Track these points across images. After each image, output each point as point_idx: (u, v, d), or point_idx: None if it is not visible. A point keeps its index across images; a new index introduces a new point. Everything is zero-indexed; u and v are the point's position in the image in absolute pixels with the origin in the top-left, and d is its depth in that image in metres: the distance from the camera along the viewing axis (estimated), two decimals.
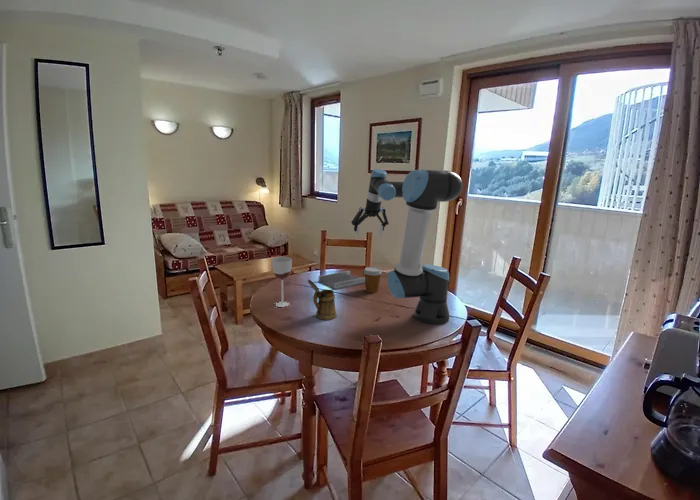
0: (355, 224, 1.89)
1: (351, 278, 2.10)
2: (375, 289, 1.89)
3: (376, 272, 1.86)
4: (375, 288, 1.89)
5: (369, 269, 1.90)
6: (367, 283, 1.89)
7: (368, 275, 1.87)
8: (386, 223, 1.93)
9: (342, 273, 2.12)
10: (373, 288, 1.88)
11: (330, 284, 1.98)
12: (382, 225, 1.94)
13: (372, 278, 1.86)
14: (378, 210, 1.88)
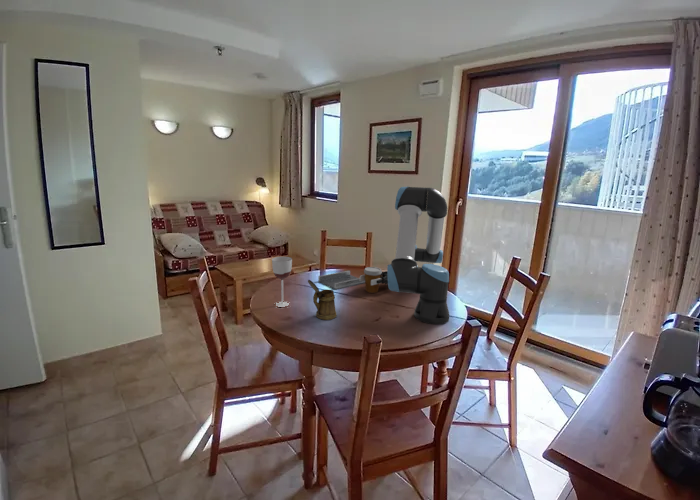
0: None
1: (351, 278, 2.10)
2: (375, 289, 1.89)
3: (376, 272, 1.86)
4: (375, 288, 1.89)
5: (369, 269, 1.90)
6: (367, 283, 1.89)
7: (368, 275, 1.87)
8: (386, 278, 1.88)
9: (342, 273, 2.12)
10: (373, 288, 1.88)
11: (330, 284, 1.98)
12: None
13: (372, 278, 1.86)
14: None
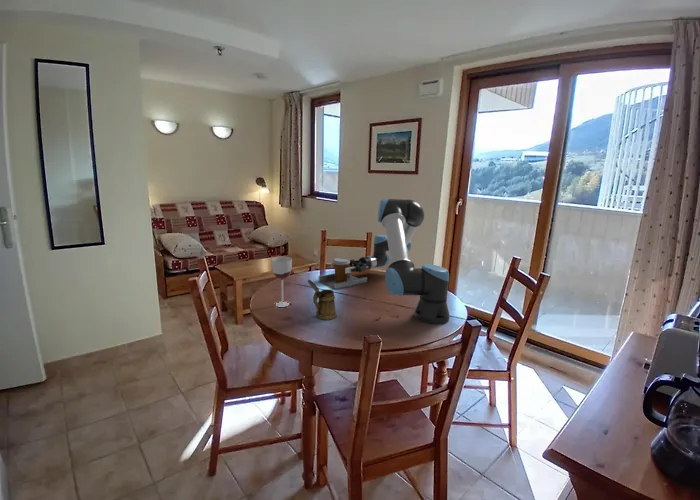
0: None
1: (351, 278, 2.10)
2: (343, 278, 2.03)
3: (344, 262, 2.00)
4: (343, 277, 2.03)
5: (338, 259, 2.04)
6: (336, 272, 2.03)
7: (337, 265, 2.01)
8: (359, 267, 1.99)
9: None
10: (342, 277, 2.02)
11: (330, 284, 1.98)
12: None
13: (340, 268, 2.01)
14: (363, 263, 2.08)
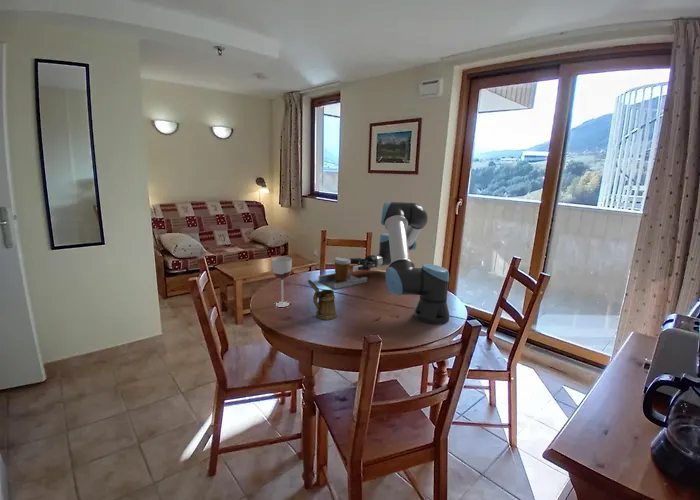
0: None
1: (351, 278, 2.10)
2: (343, 277, 2.04)
3: (343, 261, 2.00)
4: (343, 276, 2.03)
5: (339, 258, 2.05)
6: (336, 271, 2.04)
7: (336, 264, 2.02)
8: (366, 265, 2.02)
9: None
10: (341, 277, 2.03)
11: (330, 284, 1.98)
12: None
13: (339, 267, 2.02)
14: (369, 261, 2.11)
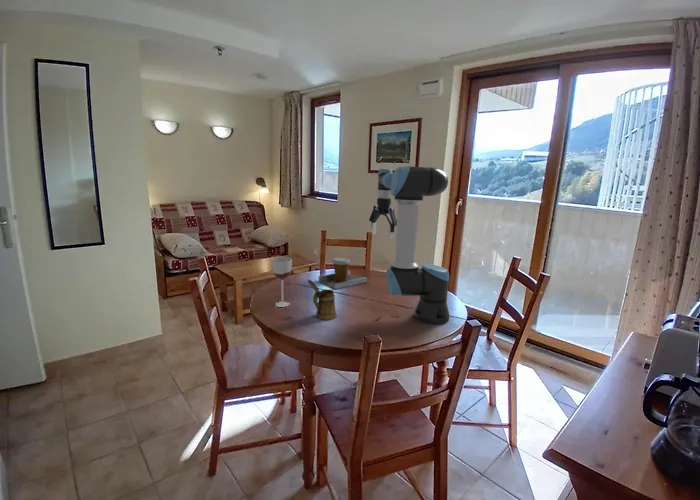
0: None
1: (351, 278, 2.10)
2: (342, 277, 2.04)
3: (342, 262, 2.01)
4: (342, 277, 2.04)
5: (338, 259, 2.06)
6: (335, 271, 2.04)
7: (335, 264, 2.02)
8: (392, 224, 1.93)
9: None
10: (340, 277, 2.03)
11: (330, 284, 1.98)
12: None
13: (338, 267, 2.02)
14: (385, 208, 1.96)
